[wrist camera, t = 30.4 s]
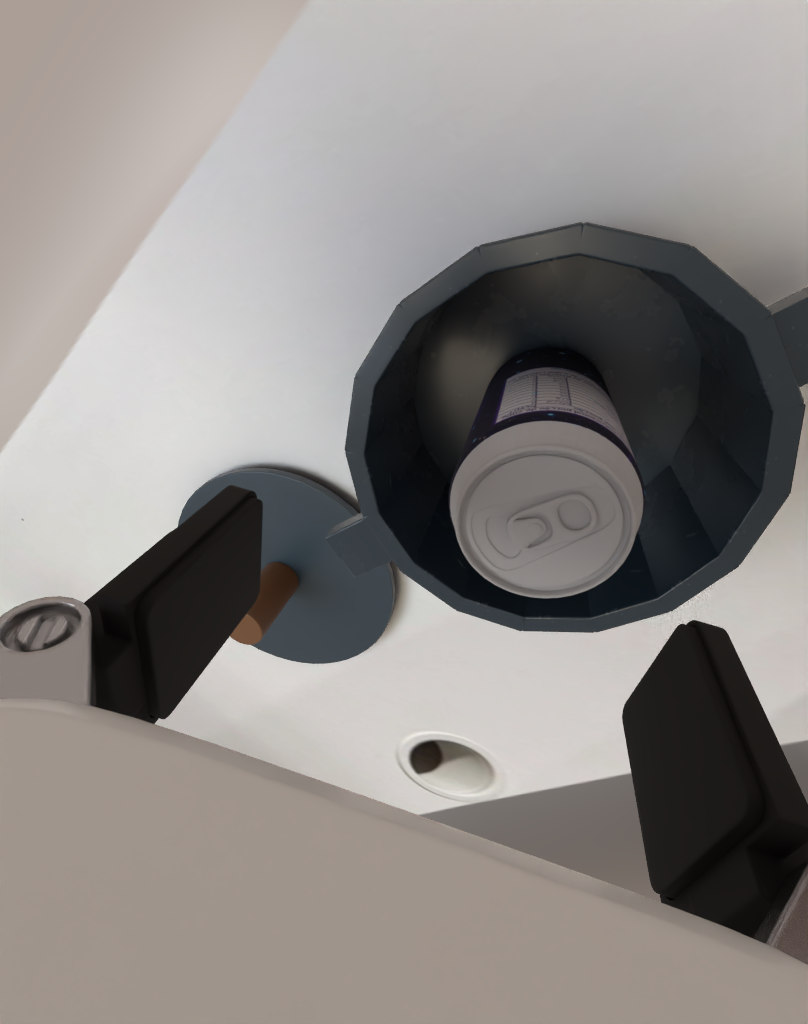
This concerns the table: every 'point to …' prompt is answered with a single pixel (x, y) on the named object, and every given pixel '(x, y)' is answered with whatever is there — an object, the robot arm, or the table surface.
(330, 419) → the table surface
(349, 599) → the pot lid
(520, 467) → the beverage can
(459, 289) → the pot
